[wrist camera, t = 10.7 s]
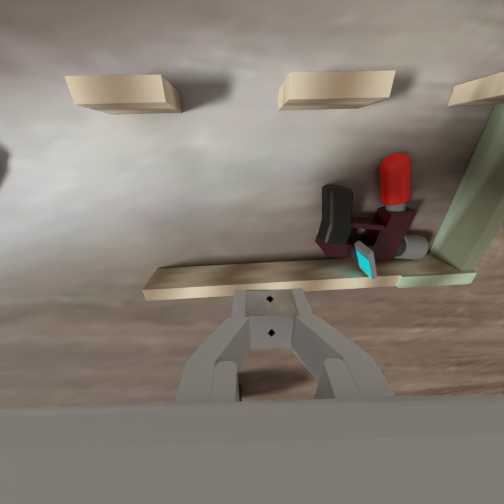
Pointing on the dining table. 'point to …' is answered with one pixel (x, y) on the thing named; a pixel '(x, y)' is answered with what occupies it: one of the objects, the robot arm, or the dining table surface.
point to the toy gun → (372, 221)
